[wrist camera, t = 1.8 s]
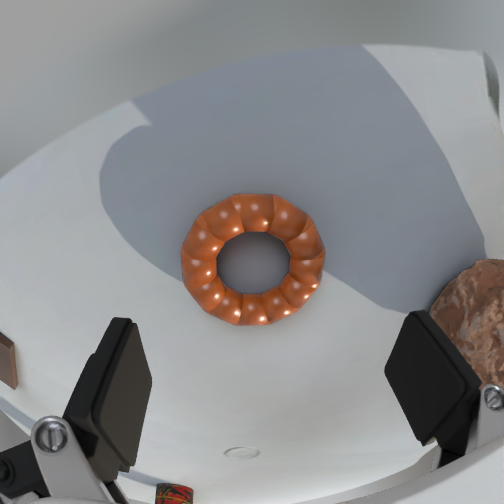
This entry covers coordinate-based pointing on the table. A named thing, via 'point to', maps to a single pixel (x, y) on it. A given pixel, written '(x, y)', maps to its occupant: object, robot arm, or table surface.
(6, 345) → the post
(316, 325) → the table surface
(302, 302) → the segmented ring
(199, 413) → the table surface
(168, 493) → the deodorant
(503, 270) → the decorative rock
